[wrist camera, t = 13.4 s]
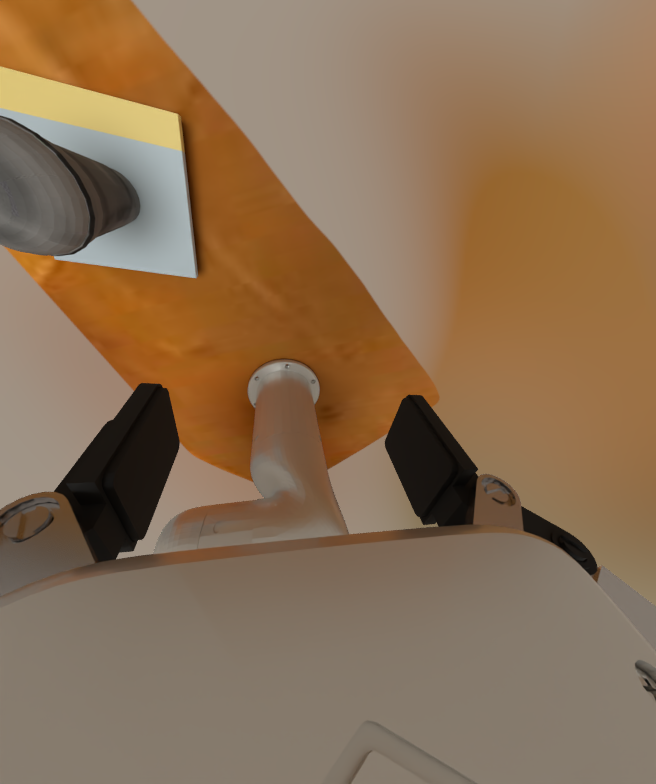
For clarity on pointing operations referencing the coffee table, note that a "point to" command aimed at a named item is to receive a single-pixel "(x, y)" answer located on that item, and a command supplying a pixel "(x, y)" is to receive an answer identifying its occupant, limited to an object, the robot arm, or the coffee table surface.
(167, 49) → the coffee table surface
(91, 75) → the coffee table surface
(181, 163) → the plate
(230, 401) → the coffee table surface
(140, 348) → the coffee table surface
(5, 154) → the beverage cup
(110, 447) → the robot arm
